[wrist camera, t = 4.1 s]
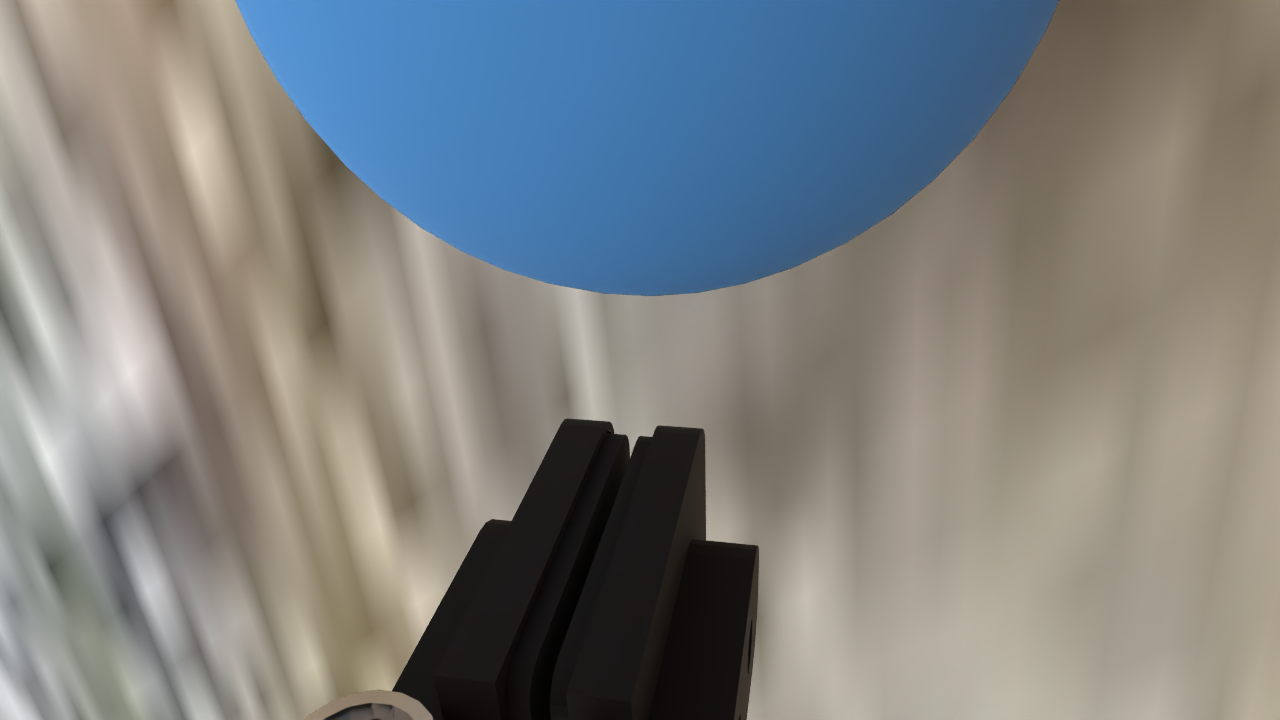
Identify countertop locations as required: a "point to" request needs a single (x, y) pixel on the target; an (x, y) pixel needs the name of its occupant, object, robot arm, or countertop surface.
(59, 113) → the countertop surface
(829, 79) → the blue ball
